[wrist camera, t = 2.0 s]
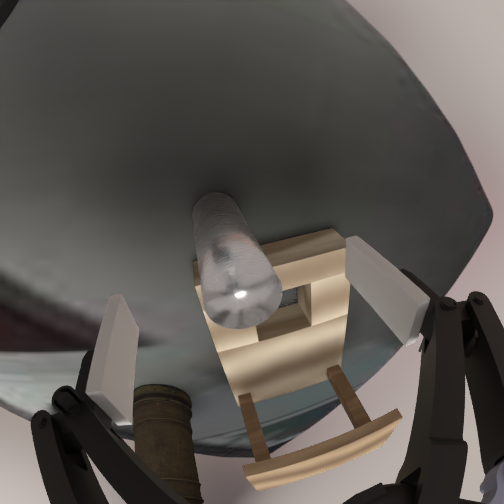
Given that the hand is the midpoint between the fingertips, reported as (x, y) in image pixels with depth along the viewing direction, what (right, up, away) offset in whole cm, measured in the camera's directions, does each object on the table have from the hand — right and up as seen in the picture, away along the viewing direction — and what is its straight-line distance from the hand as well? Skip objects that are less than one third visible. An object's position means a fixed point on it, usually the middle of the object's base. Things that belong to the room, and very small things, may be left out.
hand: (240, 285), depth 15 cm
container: (-13, -19, +19) cm, 30 cm away
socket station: (+3, -6, +16) cm, 17 cm away
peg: (-2, +5, +9) cm, 10 cm away
